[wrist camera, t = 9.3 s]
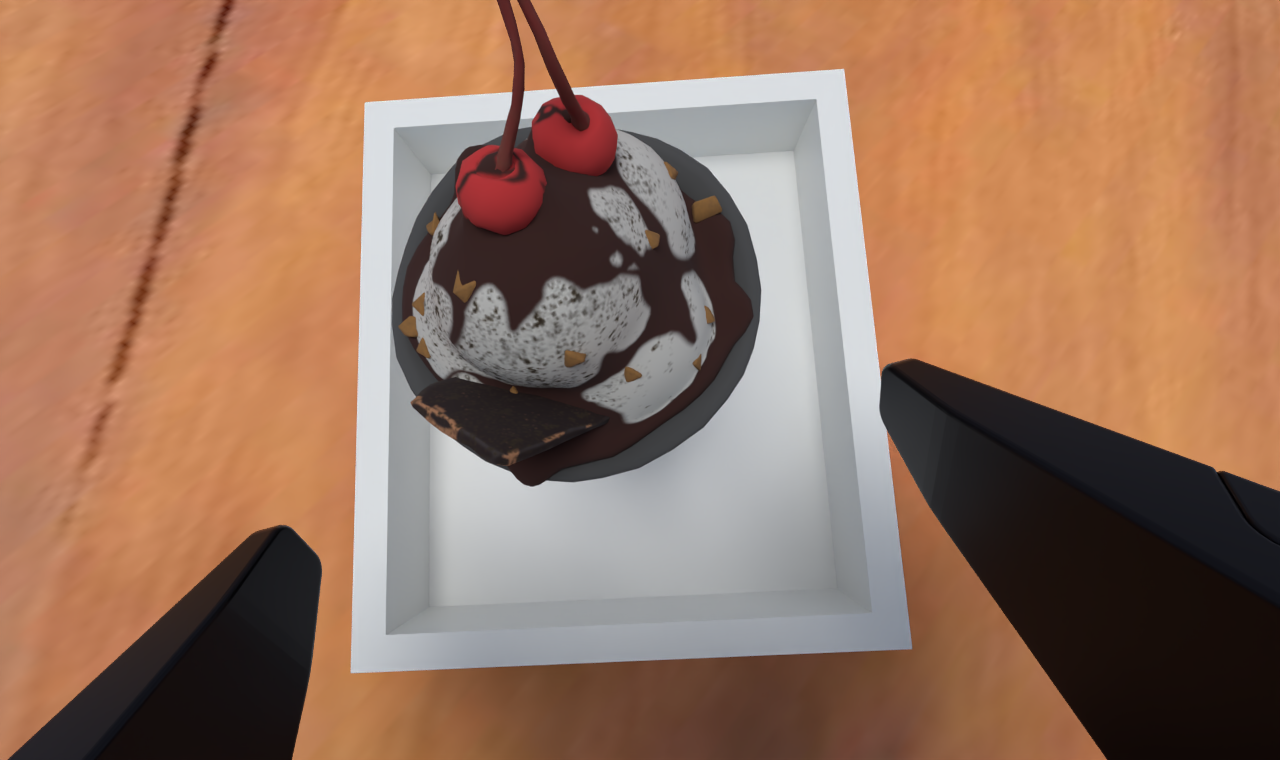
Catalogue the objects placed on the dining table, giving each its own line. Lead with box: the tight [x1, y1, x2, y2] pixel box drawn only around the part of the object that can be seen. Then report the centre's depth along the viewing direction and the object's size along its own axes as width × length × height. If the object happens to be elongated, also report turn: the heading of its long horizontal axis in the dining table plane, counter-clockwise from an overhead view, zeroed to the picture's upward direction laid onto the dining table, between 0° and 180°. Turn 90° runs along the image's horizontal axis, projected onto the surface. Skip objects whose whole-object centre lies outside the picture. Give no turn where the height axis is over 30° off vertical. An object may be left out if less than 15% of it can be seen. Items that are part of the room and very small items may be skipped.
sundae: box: [392, 0, 761, 487], centre depth 12 cm, size 7×7×15 cm
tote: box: [351, 69, 912, 673], centre depth 19 cm, size 18×16×4 cm
